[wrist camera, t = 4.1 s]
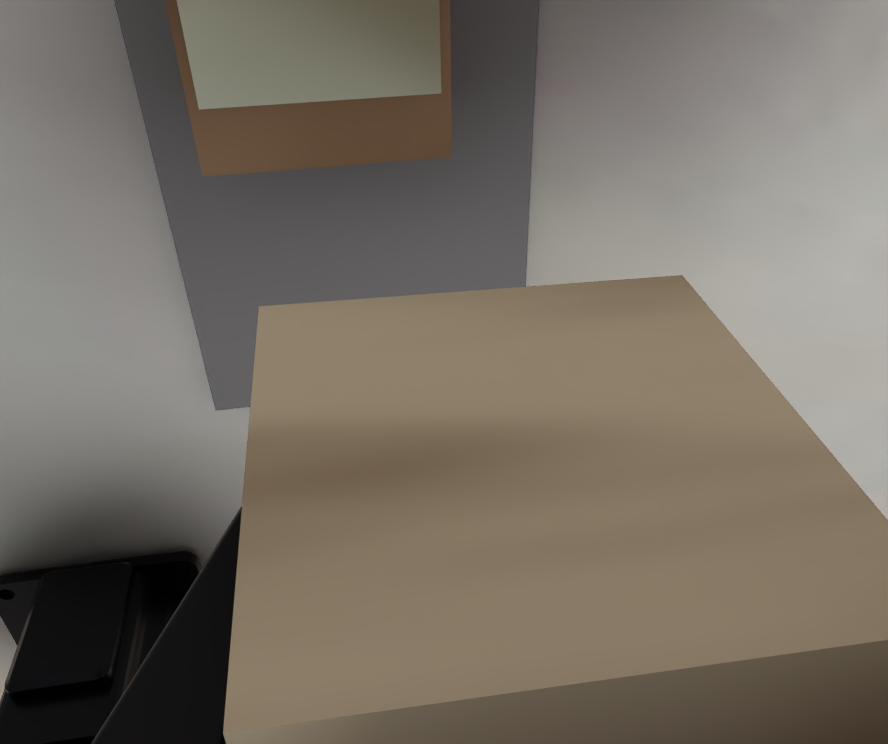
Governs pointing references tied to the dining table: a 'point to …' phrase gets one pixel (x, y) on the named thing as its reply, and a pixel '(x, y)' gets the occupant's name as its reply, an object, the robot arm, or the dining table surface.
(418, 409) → the birch cube
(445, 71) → the brown block
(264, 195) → the mat
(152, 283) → the dining table surface
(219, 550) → the robot arm
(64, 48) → the dining table surface
